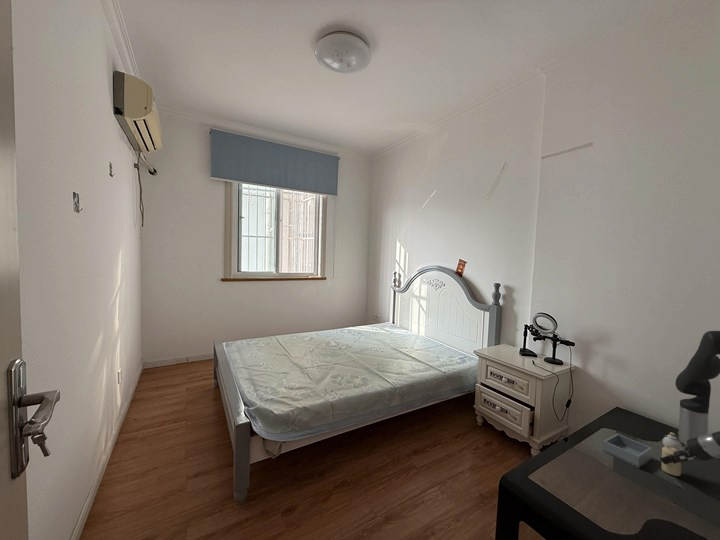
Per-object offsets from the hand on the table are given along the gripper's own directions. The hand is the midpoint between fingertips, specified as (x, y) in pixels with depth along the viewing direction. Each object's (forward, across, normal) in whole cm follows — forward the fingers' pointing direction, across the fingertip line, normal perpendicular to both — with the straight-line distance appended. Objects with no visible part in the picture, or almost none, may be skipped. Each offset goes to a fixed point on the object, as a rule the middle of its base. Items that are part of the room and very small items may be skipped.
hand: (665, 458), depth 123 cm
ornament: (+6, -22, +1) cm, 23 cm away
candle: (+2, 0, +4) cm, 5 cm away
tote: (+12, +2, -5) cm, 13 cm away
